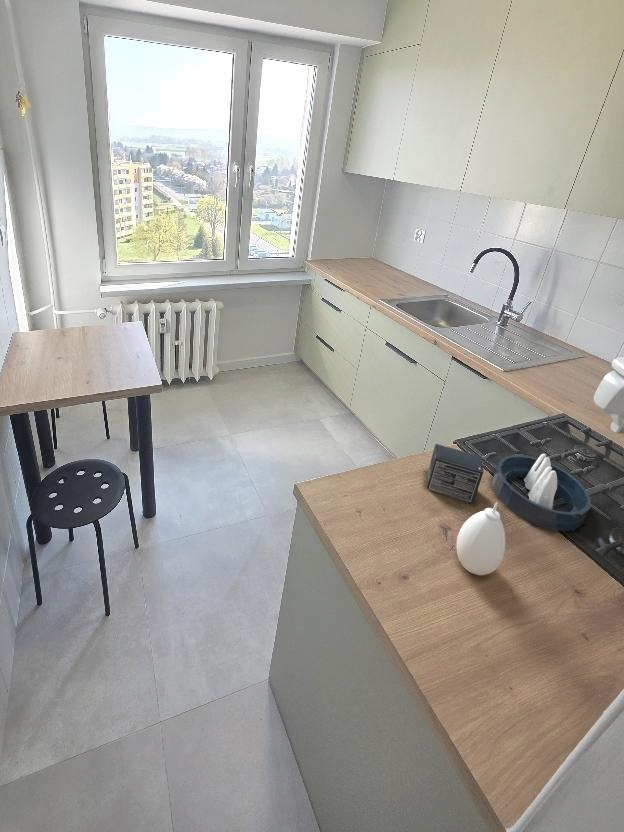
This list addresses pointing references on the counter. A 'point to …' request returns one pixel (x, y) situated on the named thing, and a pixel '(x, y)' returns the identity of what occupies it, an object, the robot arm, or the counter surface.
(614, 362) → the robot arm
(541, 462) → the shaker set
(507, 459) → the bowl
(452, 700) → the counter surface
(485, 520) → the white bulb air blower
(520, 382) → the counter surface
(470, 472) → the small box
